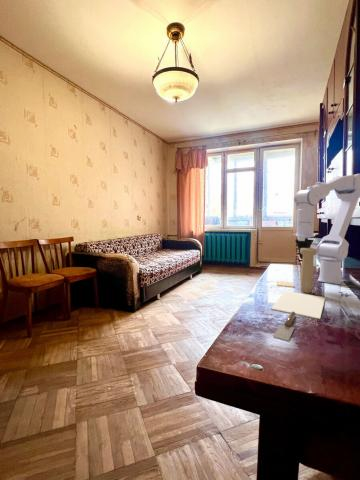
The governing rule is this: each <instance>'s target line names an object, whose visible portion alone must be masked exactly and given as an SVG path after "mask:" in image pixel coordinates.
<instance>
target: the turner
mask: <svg viewBox="0 0 360 480" xmlns="http://www.w3.org/2000/svg"><path fill="white" fill-rule="evenodd" d="M296 316H297V315H296V313H295V312H291V313H289V315H288V317H287V319H286V321H285V323H284V324H280V325H279V327H278V328H277V329H276V331H275V332H274V334H273V338H274V339H278V340H283V341H287V342H289V341H290V339H291V337H292V335H293V333H294V331H295V327H293V326H292V325H291V324H292V323H293V322H294V319H295V317H296Z"/></svg>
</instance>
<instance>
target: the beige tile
mask: <svg viewBox="0 0 360 480" xmlns="http://www.w3.org/2000/svg"><path fill="white" fill-rule="evenodd" d="M275 283H277V284H276V287H283V286H285V287H286V288H295V284H294V282H293V281H285V280H283V281H281V280H276V281H275ZM285 287H284V288H285Z"/></svg>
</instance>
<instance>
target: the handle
mask: <svg viewBox="0 0 360 480" xmlns="http://www.w3.org/2000/svg"><path fill="white" fill-rule="evenodd" d="M300 253H301V254H302V255H303V259H301V261H302V262H301V270H300V291H301V292H302V293H303V294H311V293H312V288H313V283H314V282H313V281H314V257H315V255H317V249H316V248H313V247H310V248H301V249H300Z"/></svg>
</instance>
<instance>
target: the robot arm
mask: <svg viewBox="0 0 360 480" xmlns="http://www.w3.org/2000/svg"><path fill="white" fill-rule="evenodd" d="M332 191H334V193H335V194H336V197H337V198H338V199H339V200H341V202H340V205H339V208H338V211H337V213H336V216H335V218H334V221H333V223H332V226H331V228H330V231H329V234H328V235H325V236H323V237H322V238H321V240H320V242H319V243H318V244H317V246H316V247H315V249H317V253H316V255H317V257H318V259H320V265H319V268H320V269H319V276H318V279H317V282H319V283H321V282H322V283H328V284H334V285H342V278H341V272H342V262H343V261H344V260H345V259H346V258H347V256H348V254H349V246H350V244H349V242H348V241H347V240H346V239H345V236H346V234H347V231H348V227H349V226H350V223H351V220H352V217H353V214H354V212H355V209H356V206H357V204H358V201H359V198H360V173H356V174H350V175H342V176H336V177H335V176H334V177H333V178H332V179H330V180H329V181H327V182H321V181H317V182H315V183H314V185H311V186H307V188H306V189H300V190H298V191H296V194H294V195H295V196H294V197H293V200H294V203H295V209H296V212H297V213H296V232H295V233H292V236H293V237H294V236H295V237H296V238H298V239H294V241H295V244H296V246H297V249H298V254H299V258H300V259H301V260H302V259H303V255H302V254H301V253H300V249H301V248H311V246H312V245H313V242H314V239H310V238H314V237H315V234H314V231H315V229H314V228H315V213H316V211H315V210H316V205H318V203H319V201H320V200H322V199H324V198H326V197H328V196H329V195H330V193H331V192H332Z"/></svg>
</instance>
